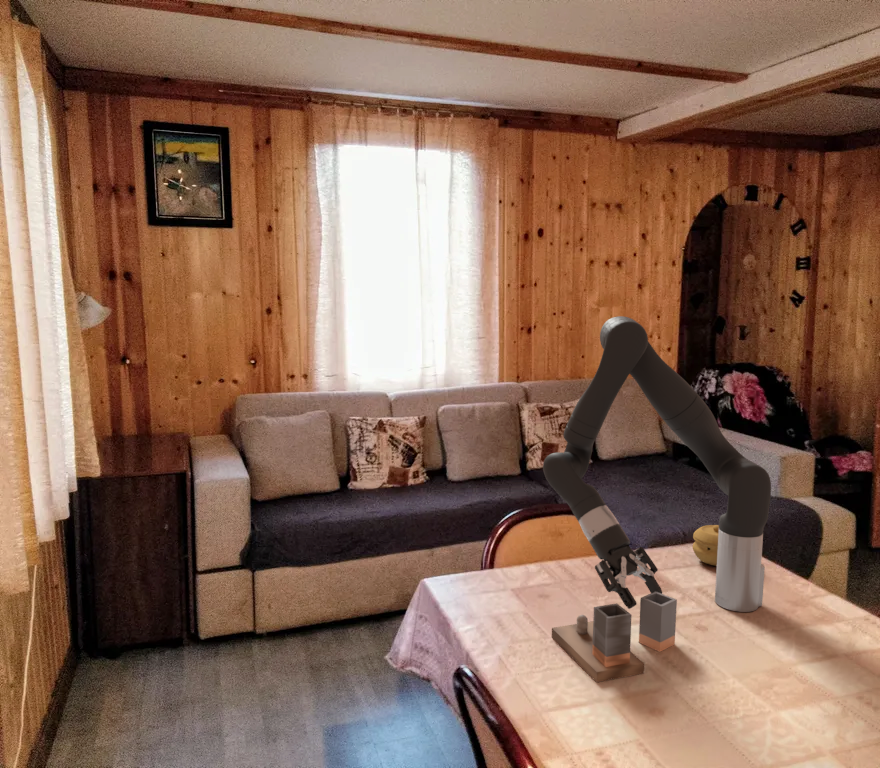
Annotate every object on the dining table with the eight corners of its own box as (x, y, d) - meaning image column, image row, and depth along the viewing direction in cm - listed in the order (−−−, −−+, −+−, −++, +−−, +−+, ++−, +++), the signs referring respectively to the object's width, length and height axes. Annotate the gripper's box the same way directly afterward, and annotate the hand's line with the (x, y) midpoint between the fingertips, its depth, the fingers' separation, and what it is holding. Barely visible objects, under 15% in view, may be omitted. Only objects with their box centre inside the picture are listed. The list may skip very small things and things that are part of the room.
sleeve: (638, 642, 148) (640, 597, 147) (653, 634, 151) (655, 591, 150) (659, 652, 144) (661, 606, 143) (674, 644, 147) (676, 599, 146)
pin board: (594, 629, 153) (596, 577, 152) (643, 673, 136) (646, 615, 135) (551, 637, 150) (552, 583, 149) (596, 682, 133) (598, 622, 132)
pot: (719, 551, 198) (721, 516, 196) (750, 567, 186) (752, 530, 185) (682, 557, 194) (684, 520, 192) (711, 573, 183) (713, 535, 181)
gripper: (591, 530, 149) (635, 602, 142) (635, 516, 158) (678, 584, 151) (571, 547, 154) (612, 618, 147) (614, 533, 163) (655, 599, 156)
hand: (646, 601), depth 149 cm, fingers open, 8 cm apart
